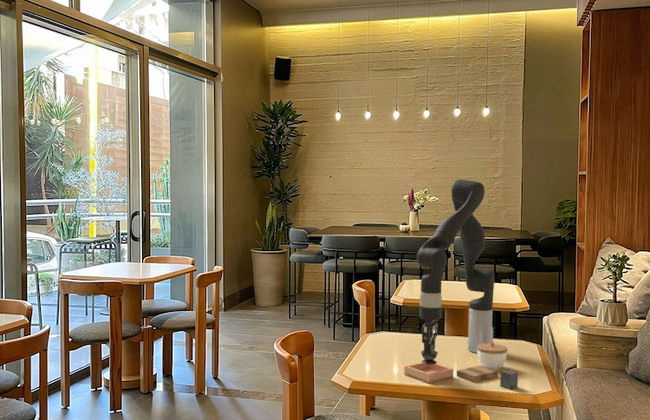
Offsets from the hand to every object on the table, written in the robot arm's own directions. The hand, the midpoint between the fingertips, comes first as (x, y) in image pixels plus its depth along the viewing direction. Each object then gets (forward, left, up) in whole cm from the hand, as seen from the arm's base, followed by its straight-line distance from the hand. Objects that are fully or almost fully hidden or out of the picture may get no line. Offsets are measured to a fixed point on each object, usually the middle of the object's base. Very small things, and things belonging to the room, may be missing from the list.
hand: (429, 352), depth 223 cm
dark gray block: (-14, +23, -9) cm, 29 cm away
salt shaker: (0, 0, -4) cm, 4 cm away
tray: (0, 0, -9) cm, 9 cm away
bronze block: (-14, +10, -9) cm, 19 cm away
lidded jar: (-27, +6, -9) cm, 29 cm away
